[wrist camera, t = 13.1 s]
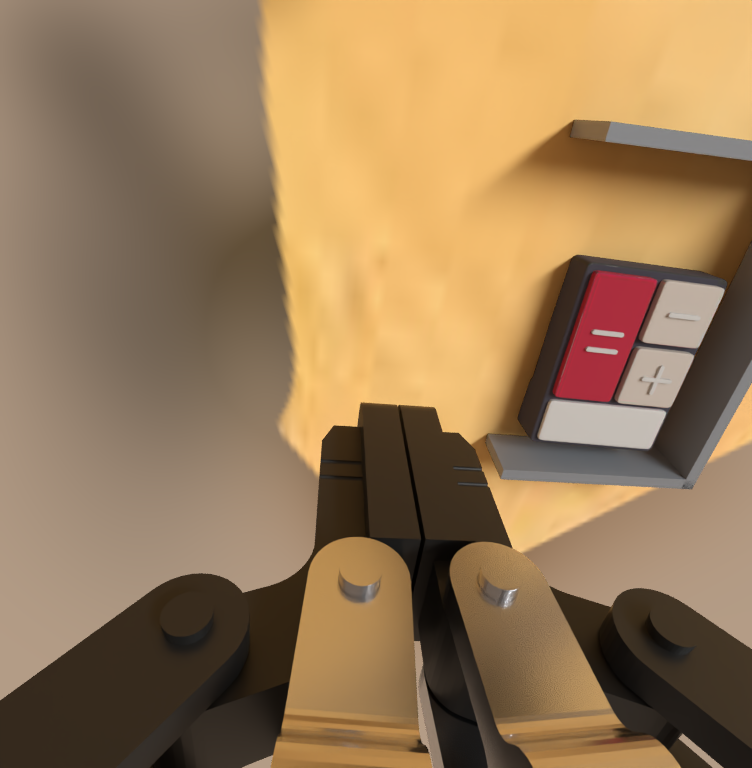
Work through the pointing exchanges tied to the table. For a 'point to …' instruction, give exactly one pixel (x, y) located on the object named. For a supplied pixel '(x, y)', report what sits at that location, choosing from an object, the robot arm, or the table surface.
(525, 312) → the table surface
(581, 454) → the box
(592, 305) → the calculator
